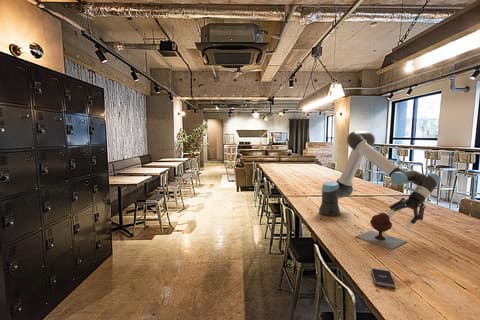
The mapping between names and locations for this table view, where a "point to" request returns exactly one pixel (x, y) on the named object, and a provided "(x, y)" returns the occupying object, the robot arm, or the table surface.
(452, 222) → the table surface
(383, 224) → the ice cream bowl
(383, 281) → the external hard drive
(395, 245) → the grey mat
